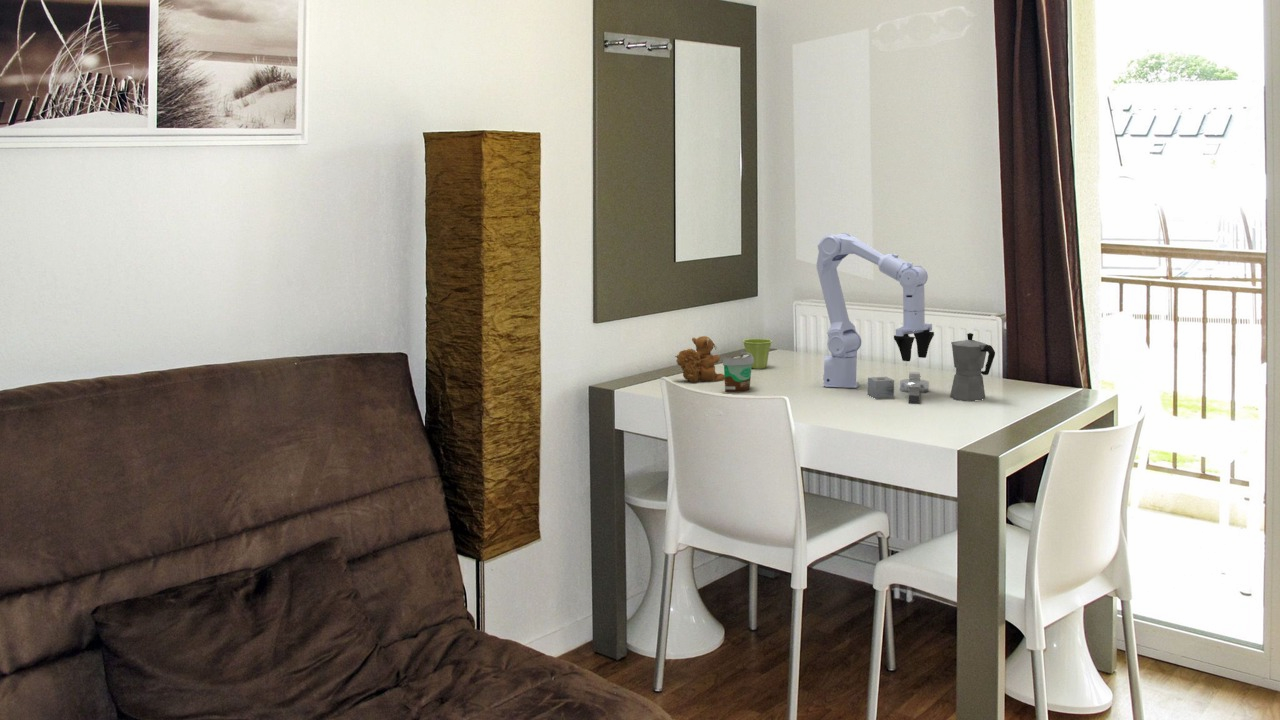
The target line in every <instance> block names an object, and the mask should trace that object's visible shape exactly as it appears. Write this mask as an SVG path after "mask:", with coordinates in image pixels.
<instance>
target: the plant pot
mask: <svg viewBox="0 0 1280 720" xmlns="http://www.w3.org/2000/svg"><path fill="white" fill-rule="evenodd" d="M742 343H743V347H744V349H745V352H746V353H750V354H752V356H753V359H754V363H752V367H751V369H756V370H757V369H765V368H768V360H769V355H770V348H771V344H772V343H773V340H771V339H767V338H747V339H743V340H742Z"/></svg>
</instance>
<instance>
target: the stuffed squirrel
mask: <svg viewBox="0 0 1280 720" xmlns="http://www.w3.org/2000/svg"><path fill="white" fill-rule="evenodd" d="M691 340H692V343H693V345H695V348H696V349H692V348H687V349H683V350H681V351H679V352H678V354H677V355H675V356H674V357H675V358H676V360H675V361H676V364H677V366H679V367H680V368H681V369H682V371H683V372H682V374H683V375H682V376H683V379H685V380H686V381H687V382H690V383H698V382H705V383H706V382H720V381H725V377H724V373H717V372H716V366H715V364H716V363H717V364H718V363H719V362H720V358H721V357H720V355H719V354H714V355H713V354H712V353H711V352H712V351H713V350H714V349H715V351H716V350H717V349H718V347H717V345H716V344H715V343H714V341H713V339H711V338H710V337H708V336H706V335H704V336H699V337H698V338H695V337H692V339H691Z"/></svg>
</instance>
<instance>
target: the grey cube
mask: <svg viewBox="0 0 1280 720" xmlns="http://www.w3.org/2000/svg"><path fill="white" fill-rule="evenodd" d="M868 395H869V397H870V396H871V397H870V398H872V397H873V398H872V399H874V398H875V399H874V400H883V399H882V398H885V399H894V397H895V380H894V379H892V378H891V377H888V376H876V377H874V376H872V377H867V396H868Z"/></svg>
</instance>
